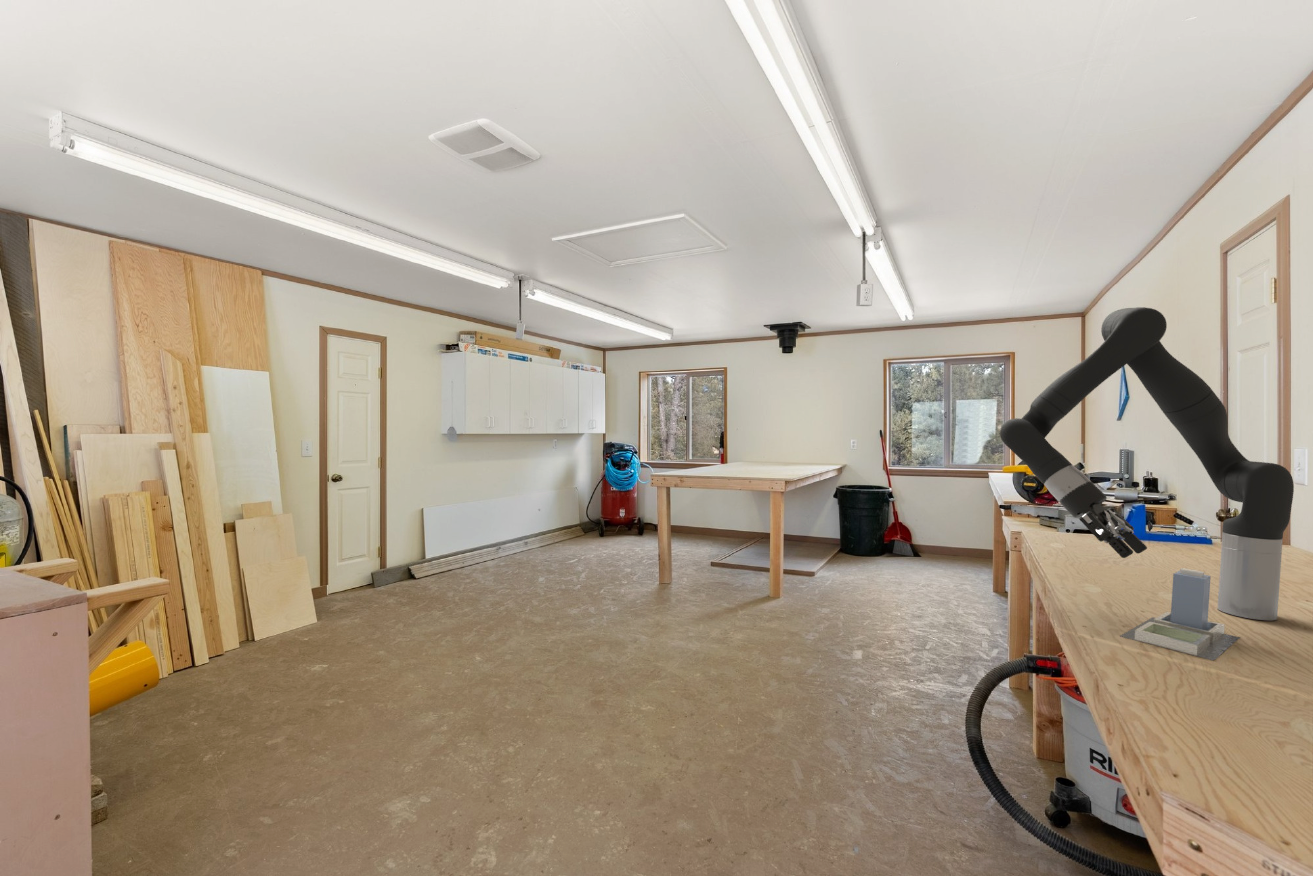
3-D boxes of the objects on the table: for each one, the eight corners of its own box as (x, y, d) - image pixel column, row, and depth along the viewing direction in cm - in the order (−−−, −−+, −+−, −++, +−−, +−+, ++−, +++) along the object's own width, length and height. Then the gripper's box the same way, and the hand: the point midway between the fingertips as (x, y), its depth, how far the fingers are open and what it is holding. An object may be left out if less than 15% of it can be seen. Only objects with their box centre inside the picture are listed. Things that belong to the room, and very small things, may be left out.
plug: (1176, 625, 117) (1180, 566, 117) (1206, 632, 113) (1210, 571, 113) (1169, 629, 114) (1173, 569, 114) (1200, 637, 111) (1204, 574, 110)
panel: (1152, 620, 122) (1153, 608, 122) (1240, 640, 111) (1240, 627, 111) (1119, 639, 110) (1120, 626, 110) (1213, 664, 100) (1214, 650, 99)
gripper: (1076, 481, 123) (1141, 546, 114) (1101, 479, 131) (1164, 539, 122) (1046, 503, 127) (1107, 567, 119) (1072, 499, 136) (1131, 559, 127)
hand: (1136, 553), depth 121 cm, fingers open, 8 cm apart
